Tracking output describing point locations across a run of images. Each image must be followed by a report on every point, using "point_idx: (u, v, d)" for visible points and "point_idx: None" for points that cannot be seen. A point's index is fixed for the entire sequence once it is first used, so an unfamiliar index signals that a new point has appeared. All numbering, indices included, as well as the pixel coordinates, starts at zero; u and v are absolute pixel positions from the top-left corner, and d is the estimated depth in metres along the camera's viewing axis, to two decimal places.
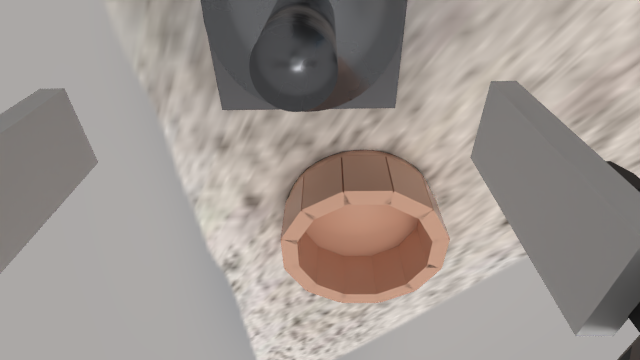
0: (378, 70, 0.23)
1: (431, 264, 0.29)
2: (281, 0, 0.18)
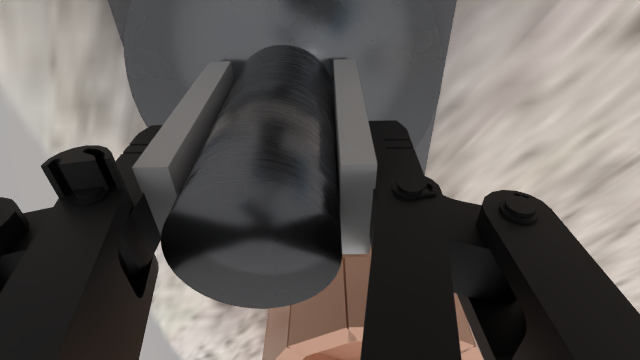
0: None
1: None
2: (244, 78, 0.11)
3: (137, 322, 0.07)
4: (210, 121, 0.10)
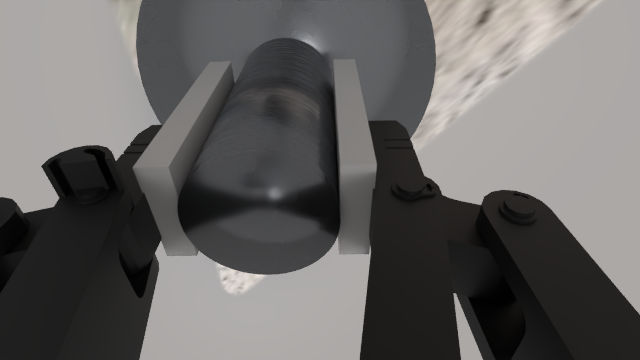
0: None
1: None
2: (250, 67, 0.12)
3: (137, 322, 0.07)
4: (210, 121, 0.10)
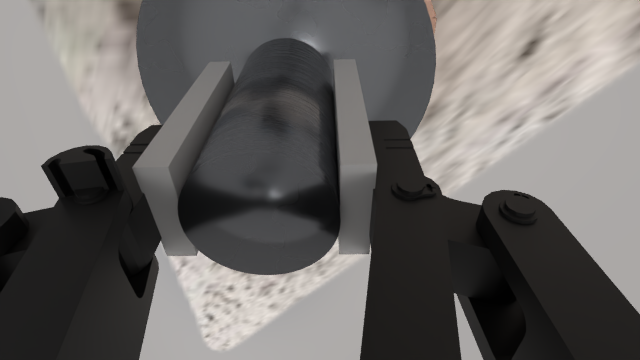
0: None
1: None
2: (250, 67, 0.12)
3: (137, 321, 0.07)
4: (210, 121, 0.10)
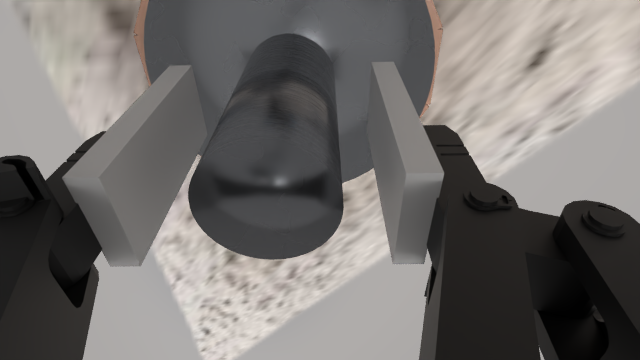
0: None
1: None
2: (255, 61, 0.12)
3: (76, 331, 0.07)
4: (161, 127, 0.10)
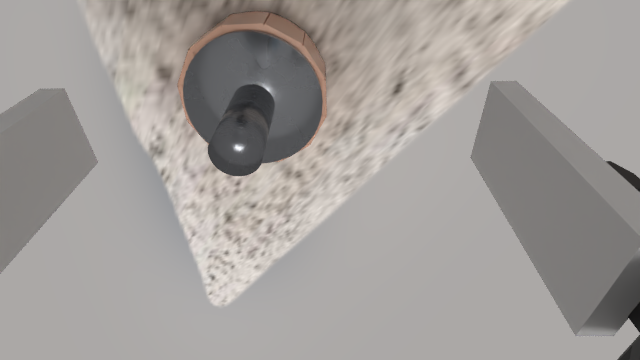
0: (309, 135, 0.33)
1: None
2: (234, 98, 0.28)
3: None
4: None
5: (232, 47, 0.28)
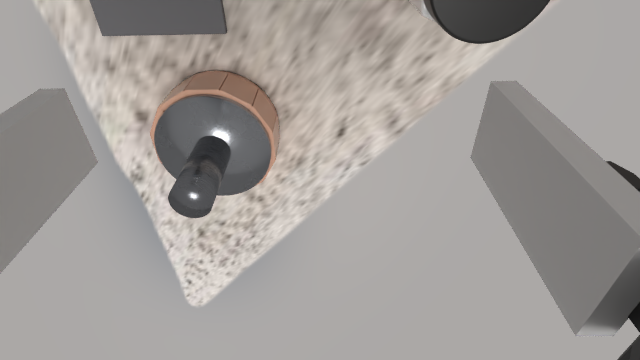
0: (261, 174, 0.39)
1: None
2: (194, 150, 0.34)
3: None
4: None
5: (193, 108, 0.34)
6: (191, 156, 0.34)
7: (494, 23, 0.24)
